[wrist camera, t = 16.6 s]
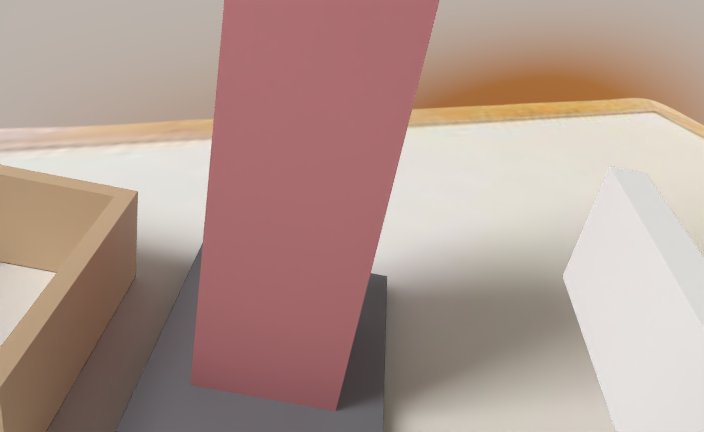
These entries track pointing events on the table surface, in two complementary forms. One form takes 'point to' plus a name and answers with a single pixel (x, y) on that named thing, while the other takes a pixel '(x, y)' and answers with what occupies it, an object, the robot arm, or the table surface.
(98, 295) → the hollow rectangular frame
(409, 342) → the table surface
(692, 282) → the robot arm
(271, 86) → the pink rectangular block
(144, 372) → the rubber mat
